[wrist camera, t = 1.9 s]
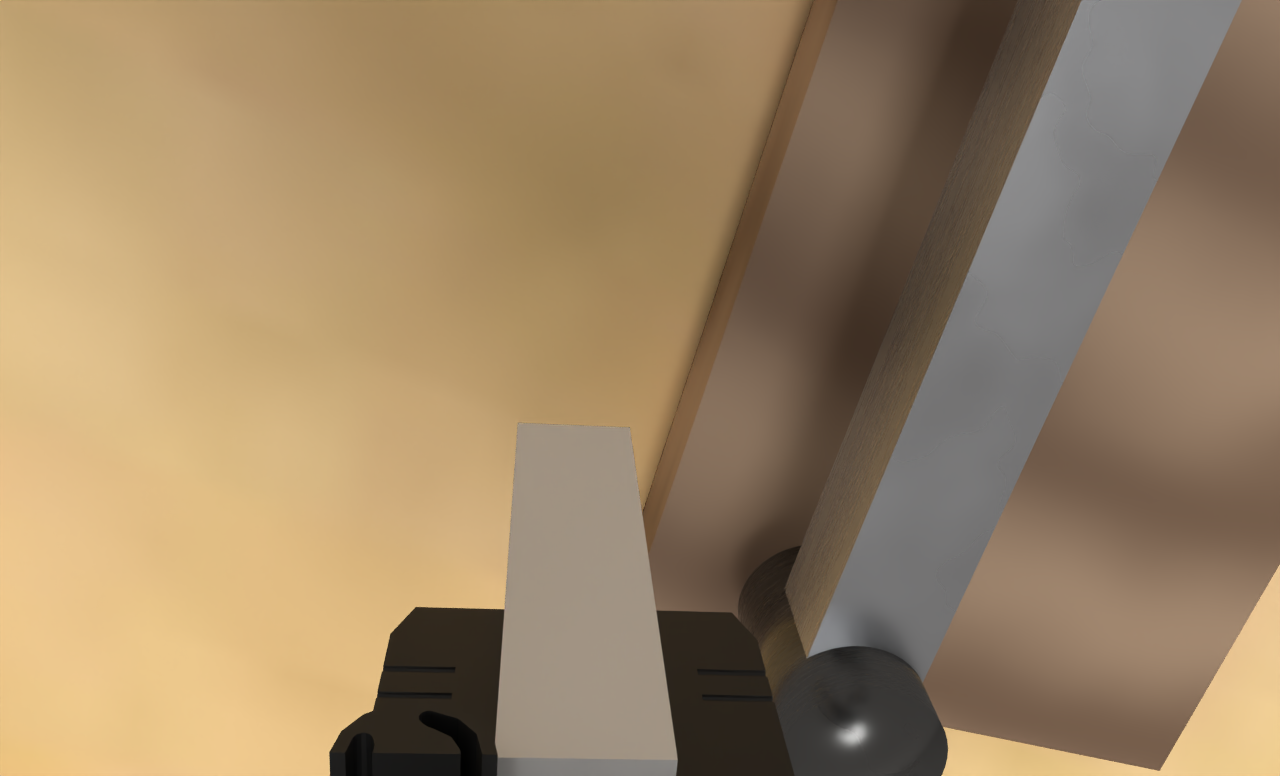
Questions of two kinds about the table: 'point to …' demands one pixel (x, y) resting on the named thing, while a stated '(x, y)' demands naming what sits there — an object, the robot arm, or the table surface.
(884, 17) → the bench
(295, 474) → the table surface
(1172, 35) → the lever
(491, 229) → the table surface
